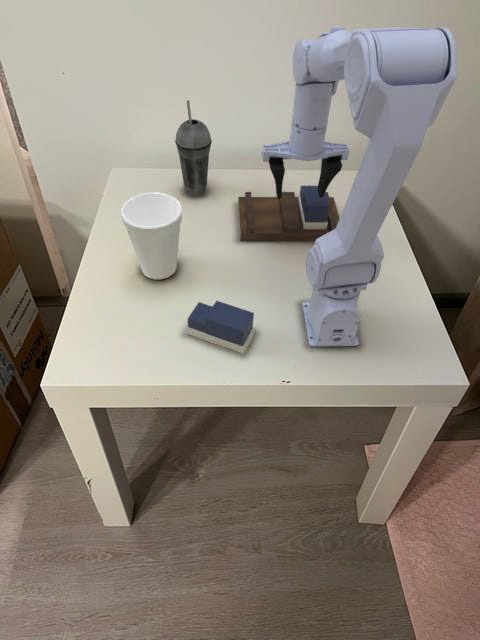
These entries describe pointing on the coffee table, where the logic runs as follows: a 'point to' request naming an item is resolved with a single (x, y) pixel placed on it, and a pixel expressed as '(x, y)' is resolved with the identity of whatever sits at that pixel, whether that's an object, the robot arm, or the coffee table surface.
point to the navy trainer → (222, 325)
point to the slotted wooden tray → (278, 219)
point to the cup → (154, 231)
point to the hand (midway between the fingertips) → (299, 194)
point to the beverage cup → (193, 154)
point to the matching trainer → (313, 208)
